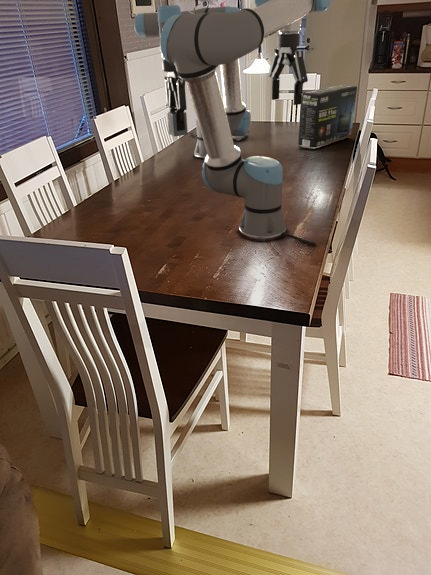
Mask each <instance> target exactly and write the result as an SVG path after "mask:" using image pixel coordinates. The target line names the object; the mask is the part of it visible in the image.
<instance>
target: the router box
mask: <svg viewBox="0 0 431 575" xmlns="http://www.w3.org/2000/svg"><path fill="white" fill-rule="evenodd" d="M357 93H358V86H356V85H350V84H339V85H338V84H337V85H334V86H328V87H324V88H318V89H314V90H309V91H304V92H302V100H301V104H300V109H299V110H300V111H299V124H298V137H297V146H298V145H302V146H307V147H317V146H320V145H323V144H325V143H328V142H331V141H333V140H336V139H338V138H341V137H344V136H347V135H351V136H352V133H353V132H352V131H353V125H354V115H355V109H356V99H357ZM311 151H313V150H312V149H311Z"/></svg>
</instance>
